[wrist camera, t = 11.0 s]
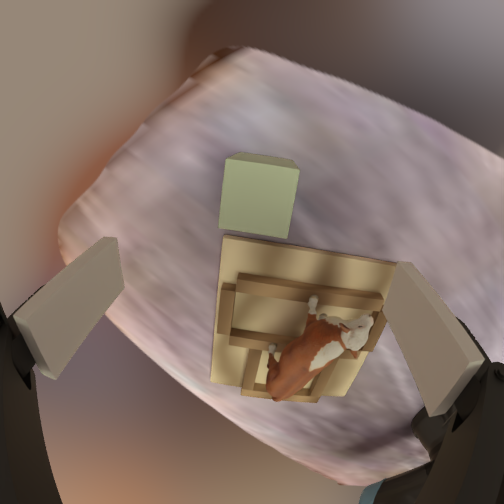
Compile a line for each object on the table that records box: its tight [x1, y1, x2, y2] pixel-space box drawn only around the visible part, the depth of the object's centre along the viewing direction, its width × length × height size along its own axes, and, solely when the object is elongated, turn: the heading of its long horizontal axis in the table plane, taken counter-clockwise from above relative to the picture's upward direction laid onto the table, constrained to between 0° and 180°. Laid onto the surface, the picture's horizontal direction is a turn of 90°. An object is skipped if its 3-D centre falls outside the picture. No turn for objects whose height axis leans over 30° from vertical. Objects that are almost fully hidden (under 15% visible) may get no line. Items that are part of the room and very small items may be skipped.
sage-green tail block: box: [218, 152, 300, 239], centre depth 23 cm, size 5×5×8 cm
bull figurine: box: [266, 295, 374, 402], centre depth 26 cm, size 4×13×8 cm, turn 145°
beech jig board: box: [211, 235, 397, 403], centre depth 32 cm, size 20×22×2 cm
